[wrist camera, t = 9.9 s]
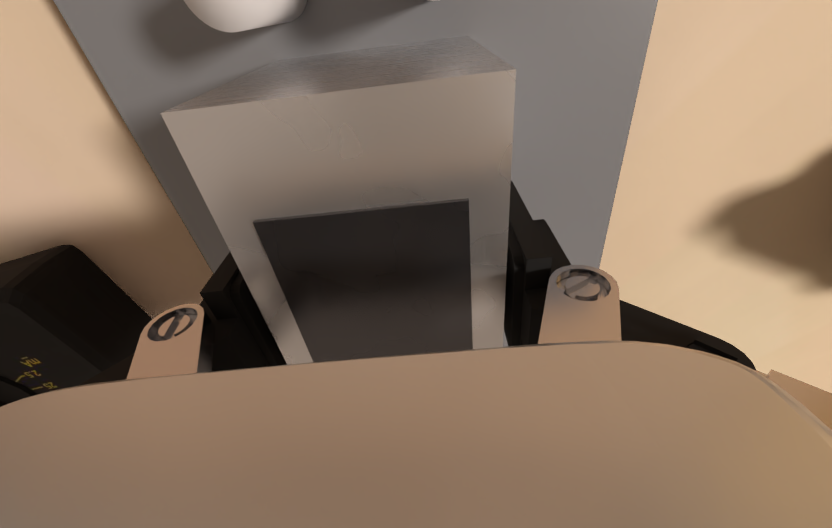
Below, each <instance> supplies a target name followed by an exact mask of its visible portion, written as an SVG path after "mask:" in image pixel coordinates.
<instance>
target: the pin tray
mask: <svg viewBox="0 0 832 528" xmlns="http://www.w3.org/2000/svg"><path fill="white" fill-rule="evenodd" d="M53 1H54V2H55V4H56V6H57V7H58V9H59V11H60V13H61V14H62V16H63V18H64V19H65V21H66V23H67V25H68V26H69V28H70V30H71V31H72V33H73V35H74V36H75V38H76V40H77V42H78V43H79V45H80V47H81V48H82V50H83V52H84V54H85V55H86V57H87V59H88V60H89V62H90V64H91V65H92V67H93V69H94V71H95V72H96V74H97V76H98V77H99V79H100V81H101V83H102V84H103V86H104V88H105V89H106V91H107V93H108V95H109V96H110V98H111V100H112V101H113V103H114V105H115V106H116V108H117V110H118V112H119V113H120V115H121V117H122V118H123V120H124V122H125V124H126V125H127V127H128V129H129V130H130V132H131V134H132V136H133V137H134V139H135V141H136V142H137V144H138V146H139V147H140V149H141V151H142V153H143V154H144V156H145V158H146V159H147V161H148V163H149V165H150V166H151V168H152V170H153V171H154V173H155V175H156V176H157V178H158V180H159V182H160V183H161V185H162V187H163V188H164V190H165V192H166V194H167V195H168V197H169V199H170V200H171V202H172V204H173V206H174V207H175V209H176V211H177V212H178V214H179V216H180V217H181V219H182V221H183V223H184V224H185V226H186V228H187V229H188V231H189V233H190V235H191V236H192V238H193V240H194V241H195V243H196V245H197V247H198V248H199V250H200V252H201V253H202V255H203V257H204V258H205V260H206V262H207V264H208V265H209V267H210V269H211V270H212V272H213V274H214V273H215V271H216V270H217V269H218V267H219V266H220V264H221V263H222V262H223V260H224V259H225V258H226V256H227V255H228V253H229V252H230V250H229V248H228V246H227V244H226V242H225V240H224V238H223V236H222V234H221V232H220V230H219V228H218V226H217V224H216V222H215V220H214V218H213V216H212V215H211V213H210V211H209V209H208V207H207V205H206V203H205V201H204V199H203V197H202V195H201V193H200V191H199V189H198V187H197V185H196V183H195V181H194V179H193V177H192V175H191V173H190V171H189V169H188V167H187V165H186V163H185V161H184V159H183V157H182V155H181V153H180V151H179V149H178V147H177V145H176V143H175V141H174V139H173V137H172V135H171V133H170V131H169V129H168V127H167V125H166V123H165V121H164V120H163V118H162V116H161V114H160V113H162V112H164V111H166V110H168V109H170V108H173V107H175V106H177V105H179V104H182V103H184V102H186V101H188V100H190V99H193V98H195V97H197V96H199V95H202V94H204V93H206V92H208V91H210V90H213V89H215V88H217V87H219V86H222V85H224V84H226V83H228V82H230V81H233V80H235V79H237V78H239V77H241V76H244V75H246V74H248V73H250V72H253V71H255V70H257V69H259V68H261V67H264V66H266V65H268V64H270V63H273V62H275V61H277V60H284V59H291V58H299V57H307V56H314V55H322V54H330V53H337V52H345V51H353V50H360V49H368V48H376V47H383V46H391V45H399V44H407V43H414V42H422V41H430V40H437V39H445V38H453V37H460V36H469V37H471V38H472V39H473V40H475V41H476V42H478V43H479V44H481V45H482V46H483V47H485V48H486V49H488V50H489V51H491V52H492V53H493V54H495V55H496V56H498V57H499V58H501V59H502V60H504V61H505V62H506V63H508V64H509V65H511V66H512V67H514V68H515V69H516V83H515V103H514V124H513V145H512V166H511V181H512V182H513V183H514V185H515V187H516V189H517V191H518V193H519V195H520V197H521V198H522V200H523V202H524V204H525V206H526V208H527V210H528V212H529V213H530V215H531V217H532V219H533V220H539V219H544V220H545V221H546V222H547V224H548V226H549V227H550V229H551V231H552V232H553V234H554V236H555V238H556V239H557V241H558V243H559V244H560V246H561V248H562V250H563V251H564V253H565V255H566V256H567V258H568V260H569V261H570V263H571V265H586V266H591V267H595V268H598V269H599V266H600V261H601V257H602V252H603V248H604V243H605V239H606V234H607V229H608V225H609V220H610V216H611V211H612V207H613V202H614V198H615V193H616V189H617V184H618V179H619V175H620V170H621V166H622V161H623V157H624V152H625V148H626V143H627V138H628V134H629V129H630V125H631V120H632V116H633V111H634V107H635V102H636V97H637V93H638V88H639V84H640V79H641V75H642V70H643V66H644V61H645V57H646V52H647V47H648V43H649V38H650V34H651V29H652V25H653V20H654V16H655V11H656V6H657V2H658V0H53ZM507 346H508V343H507V339H506V336H505V332H503V347H507Z"/></svg>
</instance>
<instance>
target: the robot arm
mask: <svg viewBox="0 0 832 528" xmlns="http://www.w3.org/2000/svg"><path fill="white" fill-rule="evenodd" d="M200 294H201V296H202V297H203V301H202V302H201V304H200V305H198V304H194V303H191V304H183V305H178V306H175V307H173V308H170V309H168V310H166V311H164V312H163V313H161V314H159V315H158V316H156V317H155V318H154V319H152V320H151V321H150V322H149V323H148V324H147V325H146V326H145V327H144V329H143V331H142V333H141V335H140V338H139V341H138V344H137V348H136V351H135V353H134V354H132V355H131V356H129V357H127V358H125V359H124V360H122V361H120V362H118V363H117V364H115V365H113V366H111V367H109V368H108V369H106V370H104V371H102V372H101V373H99V374H97V375H95V376H93V377H92V378H90V379H88V380H86V381H85V382H83V383H81V384H79V385H78V386H74V387H68V388H63V389H58V390H53V391H49V392H45V393H41V394H38V395H34V396H31V397H27V398H23V399H20V400H18V401H15V402H12V403H9V404H7V405H4V406H2V407H0V528H832V393H829V392H827V391H824V390H822V389H819V388H817V387H814V386H812V385H809V384H807V383H804V382H802V381H799V380H797V379H794V378H792V377H789V376H787V375H784V374H782V373H779V372H777V371H774V370H772V369H771V371H770V372H769V373H768V375H767V374H764V373H762V372H759V371H757V370H756V369H755V367H754V365H753V363H752V361H751V360H750V359H749V358H748V357H747V356H746V355H745V354H744V353H743V352H742V351H740V350H739V349H737V348H736V347H734V346H733V345H731V344H729V343H727V342H725V341H723V340H721V339H719V338H717V337H714V336H711V335H709V334H706V333H704V332H701V331H699V330H696V329H693V328H691V327H688V326H686V325H683V324H681V323H678V322H675V321H673V320H670V319H668V318H665V317H663V316H660V315H657V314H655V313H652V312H650V311H647V310H645V309H642V308H639V307H637V306H634V305H632V304H629V303H627V302H624V301H621V300H619V288H618V285H617V282H616V281H615V280H614V278H613V277H612V276H611V275H609V274H608V273H606V272H605V271H603V270H600V269H598V268H595V267H591V266H586V265H571V263H570V261H569V260H568V258H567V256H566V255H565V253H564V251H563V250H562V248H561V246H560V244H559V243H558V241H557V239H556V238H555V236H554V234H553V232H552V231H551V229H550V227H549V226H548V224H547V222H546V221H545V220H544V219H539V220H533V219H532V217H531V215H530V213H529V212H528V210H527V208H526V206H525V204H524V202H523V200H522V198H521V197H520V195H519V193H518V191H517V189H516V187H515V185H514V183H513V182H512V181H511V187H510V207H509V228H508V249H507V269H506V290H505V311H504V332H505V336H506V339H507V343H508V346H507V347H494V348H482V349H469V350H457V351H444V352H432V353H420V354H407V355H395V356H383V357H371V358H359V359H347V360H336V361H324V362H313V363H301V364H290V365H287V363H286V361H285V359H284V357H283V355H282V353H281V351H280V349H279V347H278V345H277V343H276V341H275V339H274V337H273V335H272V333H271V331H270V329H269V327H268V325H267V323H266V321H265V319H264V317H263V315H262V313H261V311H260V309H259V308H258V306H257V304H256V302H255V300H254V298H253V296H252V294H251V292H250V290H249V288H248V286H247V284H246V282H245V280H244V278H243V276H242V274H241V272H240V270H239V268H238V266H237V264H236V262H235V260H234V258H233V256H232V254H231V252H229V253H228V255H227V256H226V258H225V259H224V260H223V262H222V263H221V264H220V266H219V267H218V269H217V270H216V271H215V273H214V274H213V276H212V277H211V278H210V280H209V281H208V282H207V284H206V285H205V287H204V288H203V289H202V291H201V292H200Z"/></svg>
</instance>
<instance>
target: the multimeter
mask: <svg viewBox="0 0 832 528" xmlns="http://www.w3.org/2000/svg"><path fill="white" fill-rule="evenodd" d="M151 320H152V319H151V318H150V317H149V316H148V315H147V314H146V313H145V312H144V311H143V310H142V309H141V308H140V307H139V306H138V305H137V304H136V303H135V302H134V301H133V300H132V299H131V298H130V297H129V296H128V295H127V294H125V293H124V292H123V291H122V290H121V289H120V288H119V287H118V286H117V285H116V284H115V283H114V282H113V281H112V280H111V279H110V278H109V277H108V276H107V275H106V274H105V273H104V272H103V271H102V270H101V269H100V268H99V267H98V266H96V265H95V264H94V263H93V262H92V261H91V260H90V259H89V258H88V257H87V256H86V255H85V254H84V253H83V252H82V251H80V250H79V249H77V248H76V247H74V246H72V245H61V246H58V247H55V248H52V249H48V250H45V251H42V252H39V253H35V254H32V255H29V256H25V257H22V258H19V259H16V260H12V261H9V262H6V263H3V264H0V407H2V406H4V405H7V404H9V403H12V402H15V401H18V400H20V399H23V398H27V397H31V396H34V395H38V394H41V393H45V392H49V391H53V390H58V389H63V388H68V387H74V386H78V385H79V384H81V383H83V382H85V381H86V380H88V379H90V378H92V377H93V376H95V375H97V374H99V373H101V372H102V371H104V370H106V369H108V368H109V367H111V366H113V365H115V364H117V363H118V362H120V361H122V360H124V359H125V358H127V357H129V356H131V355H132V354H134V353H135V351H136V348H137V344H138V341H139V338H140V335H141V333H142V331H143V329H144V327H145V326H146V325H147V324H148V323H149V322H150V321H151Z"/></svg>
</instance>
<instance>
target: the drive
mask: <svg viewBox="0 0 832 528" xmlns="http://www.w3.org/2000/svg"><path fill="white" fill-rule="evenodd" d="M515 83H516V69H515V68H514V67H512V66H511V65H509V64H508V63H506V62H505V61H504V60H502V59H501V58H499V57H498V56H496V55H495V54H493V53H492V52H491V51H489V50H488V49H486V48H485V47H483V46H482V45H481V44H479V43H478V42H476V41H475V40H473V39H472V38H471V37H469V36H460V37H453V38H445V39H437V40H430V41H422V42H414V43H407V44H399V45H391V46H383V47H376V48H368V49H360V50H353V51H345V52H337V53H330V54H322V55H314V56H307V57H299V58H291V59H284V60H277V61H275V62H273V63H270V64H268V65H266V66H264V67H261V68H259V69H257V70H255V71H253V72H250V73H248V74H246V75H244V76H241V77H239V78H237V79H235V80H233V81H230V82H228V83H226V84H224V85H222V86H219V87H217V88H215V89H213V90H210V91H208V92H206V93H204V94H202V95H199V96H197V97H195V98H193V99H190V100H188V101H186V102H184V103H182V104H179V105H177V106H175V107H173V108H170V109H168V110H166V111H164V112H162V113H160V114H161V116H162V118H163V120H164V121H165V123H166V125H167V127H168V129H169V131H170V133H171V135H172V137H173V139H174V141H175V143H176V145H177V147H178V149H179V151H180V153H181V155H182V157H183V159H184V161H185V163H186V165H187V167H188V169H189V171H190V173H191V175H192V177H193V179H194V181H195V183H196V185H197V187H198V189H199V191H200V193H201V195H202V197H203V199H204V201H205V203H206V205H207V207H208V209H209V211H210V213H211V215H212V216H213V218H214V220H215V222H216V224H217V226H218V228H219V230H220V232H221V234H222V236H223V238H224V240H225V242H226V244H227V246H228V248H229V250H230V252H231V254H232V256H233V258H234V260H235V262H236V264H237V266H238V268H239V270H240V272H241V274H242V276H243V278H244V280H245V282H246V284H247V286H248V288H249V290H250V292H251V294H252V296H253V298H254V300H255V302H256V304H257V306H258V308H259V309H260V311H261V313H262V315H263V317H264V319H265V321H266V323H267V325H268V327H269V329H270V331H271V333H272V335H273V337H274V339H275V341H276V343H277V345H278V347H279V349H280V351H281V353H282V355H283V357H284V359H285V361H286V363H287V365H290V364H301V363H313V362H324V361H336V360H347V359H359V358H371V357H383V356H395V355H407V354H420V353H432V352H444V351H457V350H469V349H482V348H494V347H503V332H504V311H505V290H506V269H507V249H508V228H509V207H510V187H511V166H512V145H513V124H514V103H515Z"/></svg>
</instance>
